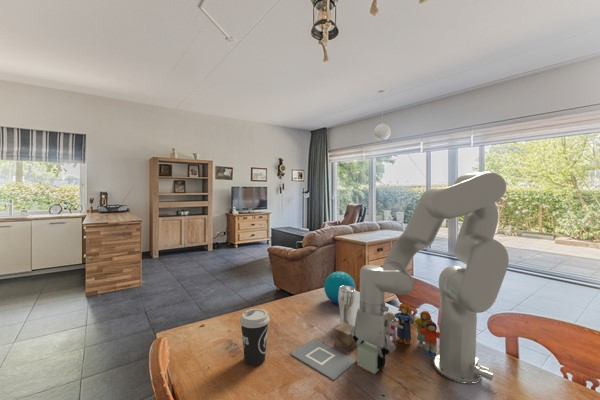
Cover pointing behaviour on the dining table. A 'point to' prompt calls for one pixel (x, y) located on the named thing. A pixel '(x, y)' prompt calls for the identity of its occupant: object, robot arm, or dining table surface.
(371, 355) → the sage block
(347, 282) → the decorative orb
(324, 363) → the felt mat
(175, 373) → the dining table surface
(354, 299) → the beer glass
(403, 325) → the doll family
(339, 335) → the walnut block
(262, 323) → the coffee cup
